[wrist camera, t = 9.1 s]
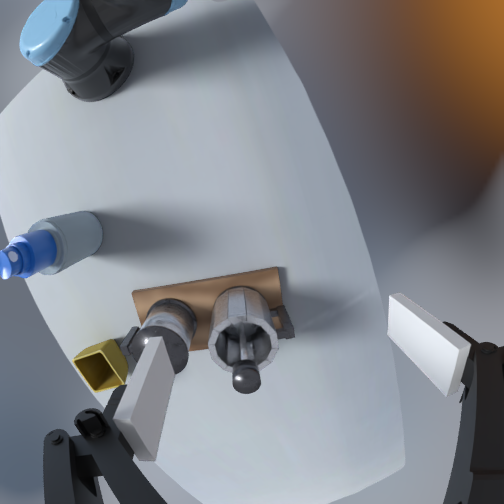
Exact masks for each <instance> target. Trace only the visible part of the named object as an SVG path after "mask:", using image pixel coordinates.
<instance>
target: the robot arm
mask: <svg viewBox="0 0 504 504" xmlns="http://www.w3.org/2000/svg"><path fill="white" fill-rule="evenodd" d="M187 1H188V0H44V1H43V2H42V3H41V4H40V5H39V6H38V7H37V8H36V9H35V10H34V11H33V13H32V14H31V15H30V17H29V19H28V20H27V22H26V24H25V26H24V28H23V30H22V33H21V37H20V50H21V53H22V55H23V56H24V57H25V58H27V59H28V60H29V61H31V62H32V63H33V65H35V66H39V67H41V68H43V69H45V70H46V71H48V72H50V73H52V74H54V75H55V76H57V77H59V78H61V79H62V81H63V83H64V85H65V86H66V88H67V90H68V92H69V93H70V94H71V95H72V96H74V97H76V98H77V99H79V100H82V101H86V102H92V101H98V100H101V99H103V98H105V97H107V96H109V95H111V94H112V93H114V92H115V91H116V90H117V89H118V88H119V87H120V86H121V85H122V84H123V83H124V82H125V80H126V79H127V77H128V76H129V74H130V72H131V69H132V66H133V61H134V54H133V50H132V48H131V46H130V45H129V43H128V42H127V41H126V40H125V39H124V38H123V37H121V35H123V34H125V33H127V32H129V31H131V30H133V29H135V28H137V27H139V26H141V25H144V24H146V23H148V22H150V21H152V20H155V19H157V18H159V17H162V16H165V15H167V14H168V13H170V12H172V11H174V10H176V9H178V8H181V7H182V6H184V5H185V4H186V2H187ZM387 335H388V336H389V337H390V338H391V339H392V340H393V341H394V342H395V343H396V344H397V345H398V346H399V348H400V349H401V350H402V351H403V352H404V353H405V354H406V355H407V356H408V357H409V358H410V359H411V360H412V361H413V362H414V363H415V364H416V365H417V366H418V367H419V369H420V370H421V371H422V372H423V373H424V374H425V375H426V376H427V377H428V378H429V379H430V380H431V381H432V382H433V383H434V385H435V386H436V387H437V388H438V389H439V390H440V391H441V392H442V393H443V394H444V395H445V397H448V396H450V395H452V394H454V393H456V392H457V391H458V389H459V386H460V383H461V382H462V383H463V384H464V385H465V388H464V391H463V394H462V396H461V399H460V403H461V402H462V412H461V421H460V429H459V436H458V442H457V448H456V453H455V458H454V463H453V468H452V472H451V476H450V480H449V485H448V488H447V492H446V496H445V499H444V502H443V504H504V346H503V347H498V346H496V345H495V344H493V343H490V342H483V343H480V344H479V343H478V342H476V341H475V340H474V339H472V338H471V337H470V336H468V335H467V334H466V333H464V332H463V331H461V330H459V328H457V327H456V326H454V325H453V324H451V323H448V322H441V321H439V320H438V319H437V318H435V317H434V316H432V315H431V314H430V313H428V312H427V311H425V310H424V309H423V308H421V307H420V306H418V305H417V304H416V303H414V302H413V301H411V300H410V299H409V298H407V297H406V296H404V295H403V294H402V293H400V292H399V293H396V294H392V295H389V318H388V334H387ZM174 378H175V373H174V370H173V368H172V365H171V362H170V359H169V356H168V353H167V350H166V347H165V344H164V341H163V337H162V336H160V337H150V338H149V340H148V342H147V344H146V346H145V348H144V350H143V352H142V354H141V357H140V359H139V361H138V363H137V365H136V367H135V370H134V372H133V374H132V376H131V378H130V381H129V383H128V385H119V386H118V387H117V388H116V389H115V390H114V391H113V393H112V395H111V397H110V399H109V401H108V403H107V404H108V405H106V408H105V410H104V412H103V414H102V412H100V411H99V410H98V409H94V408H92V409H86V410H84V411H82V412H80V413H79V414H78V415H77V416H76V418H75V420H74V423H75V426H76V427H77V429H78V430H79V432H80V433H81V435H79V436H73V437H70V436H69V435H68V433H67V432H66V431H64V430H61V429H56V430H53V431H51V432H50V433H49V434H47V435H46V437H45V440H44V455H43V469H44V470H43V471H44V497H45V504H104V503H103V499H102V495H101V491H100V486H99V482H98V477H97V476H104V478H105V480H106V481H107V483H108V485H109V486H110V488H111V490H112V491H113V493H114V495H115V496H116V498H117V499H118V501H119V502H120V504H167V503H166V502H165V500H164V499H163V498H162V497H161V496H160V495H159V494H158V492H157V491H156V490H155V489H154V487H153V486H152V485H151V484H150V483H149V481H148V480H147V479H146V477H145V476H144V475H143V474H142V472H141V471H140V470H139V468H138V467H137V466H136V464H135V463H134V462H133V460H132V459H133V456H134V454H135V455H136V456H137V458H138V459H139V460H140V461H156V456H157V451H158V447H159V442H160V438H161V433H162V429H163V424H164V420H165V416H166V411H167V407H168V403H169V399H170V395H171V391H172V386H173V382H174ZM462 400H463V401H462Z"/></svg>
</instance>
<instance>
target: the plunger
mask: <svg viewBox="0 0 504 504" xmlns="http://www.w3.org/2000/svg"><path fill="white" fill-rule="evenodd" d="M259 326H260V325H256V324H253V323H250V322H240V323H234V324H230V325H229V326H228V327H226V328H225V330H226V331H227V332H228V333H229V334H231V335H233V336H236V337H240V347H241V360H240V361H238V362H236V363H235V364H234V366H233V369H232V374H233V387H234V389H235V390H236V391H238V392H240V393H243V394H249V393H253V392H255V391H257V390H258V389H259V387H260V385H261V380H260V374H259V368H258V365H257V364H256V363H255V362H254V361H252V360H249V359H248V355H247V345H246V336H249V335H251V334H253V333H254V332H255V331H256V330H257V329H258V328H259Z"/></svg>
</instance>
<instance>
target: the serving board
mask: <svg viewBox="0 0 504 504" xmlns="http://www.w3.org/2000/svg"><path fill="white" fill-rule="evenodd" d="M239 285H242V286H249V287H252V288H254V289H256V290H257V291H259V292H260V293H261V294H262V295H263V296H264V298H265V299H266V302H267V304H268V307H269V309H271V308H276V306H280V305H283V303H282V296H281V289H280V282H279V274H278V269H277V267H272V268H266V269H261V270H255V271H249V272H243V273H238V274H232V275H226V276H220V277H214V278H208V279H202V280H196V281H190V282H184V283H178V284H172V285H166V286H159V287H153V288H147V289H140V290H134V291H133V292H132V296H133V300H134V303H135V307H136V310H137V313H138V316H139V319H140V323H141V326H142V325H143V324H144V322H145V320H146V316H147V312H148V310H149V309H150V307H151V306H152V305H153V304H154V303H155V302H156V301H158V300H161V299H164V298H174V299H178V300H181V301H183V302H184V303H186V304H187V305H188V306H190V307H191V309H192V310H193V311H194V313H195V315H196V318H197V330H196V333H195V336H194V337H193V339H192V340H191V343H190V348H189V351H195V350H203V349H209V347H208V339H209V332H210V324H211V317H212V311H213V306H214V302H215V300H216V298H217V297H218V296H219V294H220V293H222V292H223V291H224V290H226V289H228V288H230V287H233V286H239ZM272 320H273V323H274V326H275V329H279V328H282V327H281V324H280V321H279V318H278V316H277V317H272Z"/></svg>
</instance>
